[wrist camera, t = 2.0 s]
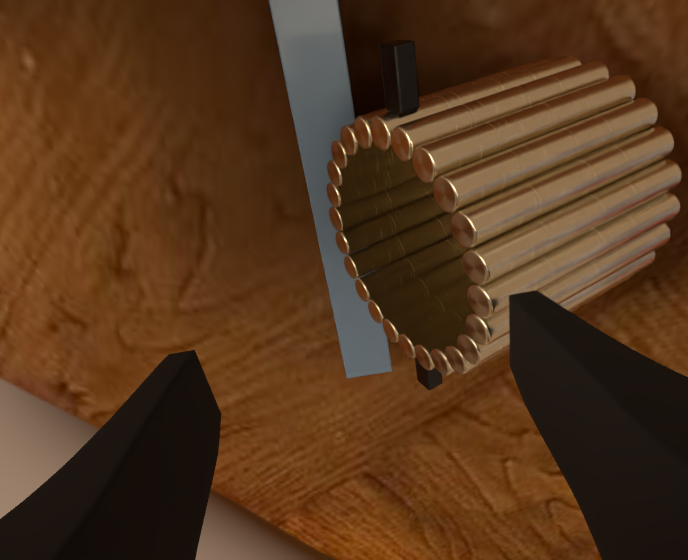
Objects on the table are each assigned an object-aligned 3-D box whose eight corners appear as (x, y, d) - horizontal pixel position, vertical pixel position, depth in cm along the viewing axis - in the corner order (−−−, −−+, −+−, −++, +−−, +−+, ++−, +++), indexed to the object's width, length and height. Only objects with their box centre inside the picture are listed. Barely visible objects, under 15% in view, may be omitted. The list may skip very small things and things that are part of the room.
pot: (585, -18, 17) (851, -10, 9) (566, 260, 23) (717, 435, 14) (300, 34, 18) (284, 91, 9) (348, 295, 23) (366, 485, 15)
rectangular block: (326, -63, 16) (328, -68, 14) (385, 336, 25) (392, 371, 22) (264, -51, 16) (256, -55, 14) (344, 343, 25) (346, 378, 22)
